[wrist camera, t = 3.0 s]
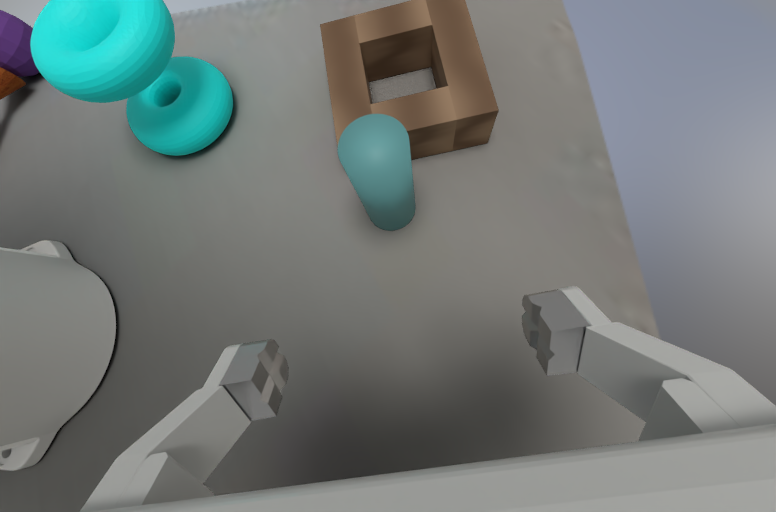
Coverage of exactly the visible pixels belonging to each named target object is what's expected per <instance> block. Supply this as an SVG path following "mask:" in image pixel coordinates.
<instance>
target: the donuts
mask: <svg viewBox="0 0 776 512" xmlns="http://www.w3.org/2000/svg"><path fill="white" fill-rule="evenodd" d="M174 42H175V32H174V24H173V20H172V18H171V15H170V13H169V10H168V8H167V7H166V5H165V3H164V2H163V0H50V1H49V2H48V4H47V5H46V6H45V7H44V8H43V10H42V11H41V13H40V14H39V16H38V18H37V20H36V22H35V24H34V27H33V31H32V35H31V41H30V46H31V53H32V57H33V60H34V63H35V65H36V67H37V69H38V70H39V72H40V73H41V75H42V76H43V77H44V78H45V79H46V80H47V81H48V82H49V83H50V84H51V85H52V86H54V87H55V88H56V89H58V90H59V91H61V92H63V93H64V94H67V95H69V96H71V97H73V98H76V99H80V100H83V101H88V102H99V103H106V102H114V101H119V100H123V99H126V98H128V100H127V119H128V122H129V125H130V128H131V130H132V131H133V133H134V135H135V136H136V137H137V138H138V140H139V141H141V142H142V143H143V144H144V145H145V146H147V147H148V148H150V149H152V150H153V151H156V152H159V153H162V154H165V155H175V156H179V155H187V154H191V153H194V152H197V151H199V150H202V149H203V148H205V147H207V146H208V145H210V144H211V143H212V142H214V141H215V140H216V139H217V138H218V137H219V136H220V135H221V133H222V132H223V131H224V129H225V128H226V126H227V124H228V122H229V120H230V117H231V114H232V109H233V97H232V91H231V88H230V86H229V84H228V81H227V80H226V78H225V77H224V76H223V74H222V73H221V72H220V71H219V70H218V69H217V68H215V67H214V66H213V65H211V64H210V63H208V62H206V61H204V60H201V59H198V58H193V57H173V58H171V56H172V52H173V48H174Z"/></svg>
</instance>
